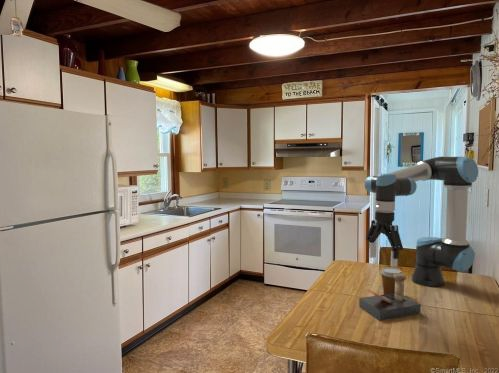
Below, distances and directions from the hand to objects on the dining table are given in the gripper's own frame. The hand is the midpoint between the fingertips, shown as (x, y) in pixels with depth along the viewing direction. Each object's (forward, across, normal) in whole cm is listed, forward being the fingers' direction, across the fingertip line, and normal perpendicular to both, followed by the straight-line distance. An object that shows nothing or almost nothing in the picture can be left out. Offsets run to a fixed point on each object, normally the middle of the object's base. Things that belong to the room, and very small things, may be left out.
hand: (382, 261), depth 155 cm
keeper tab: (+15, 0, -1) cm, 15 cm away
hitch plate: (+22, 0, +4) cm, 22 cm away
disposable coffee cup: (+22, -14, +16) cm, 31 cm away
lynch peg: (+22, 0, +9) cm, 23 cm away
